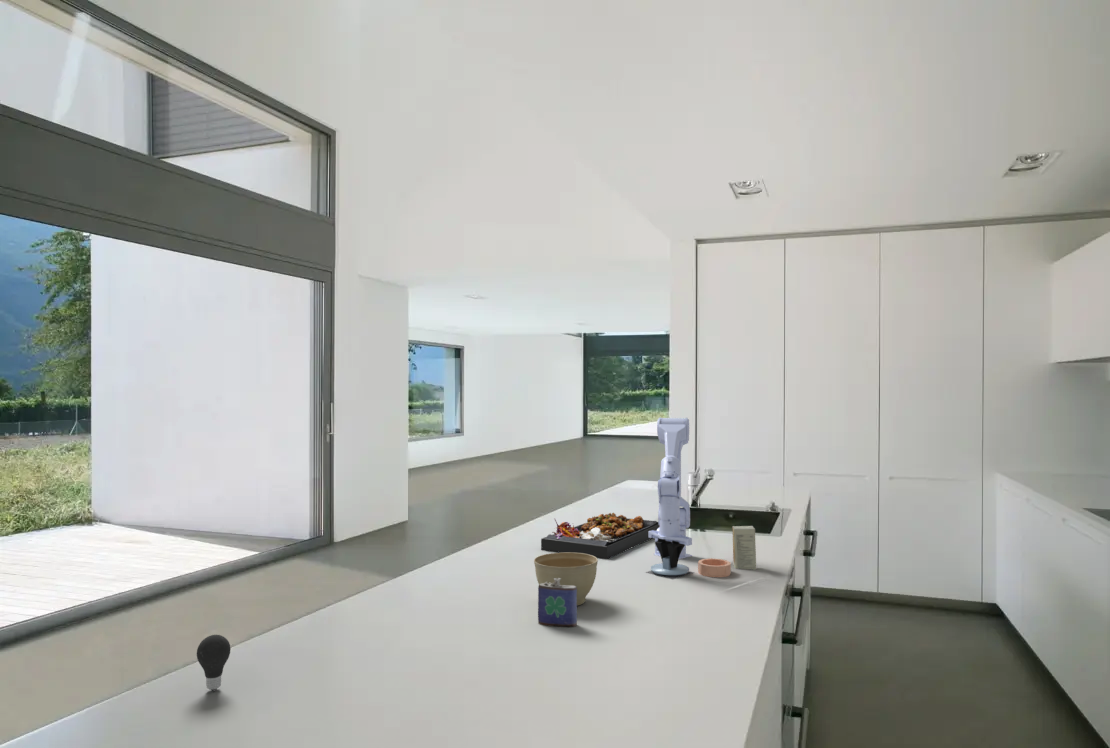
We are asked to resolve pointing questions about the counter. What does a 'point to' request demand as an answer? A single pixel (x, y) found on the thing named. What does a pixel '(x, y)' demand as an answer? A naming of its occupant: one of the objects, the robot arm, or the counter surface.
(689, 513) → the robot arm
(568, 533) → the food platter
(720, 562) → the bowl
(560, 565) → the planter bowl
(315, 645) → the counter surface
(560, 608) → the flask
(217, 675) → the light bulb
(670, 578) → the mat
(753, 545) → the skincare box
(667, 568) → the lid
